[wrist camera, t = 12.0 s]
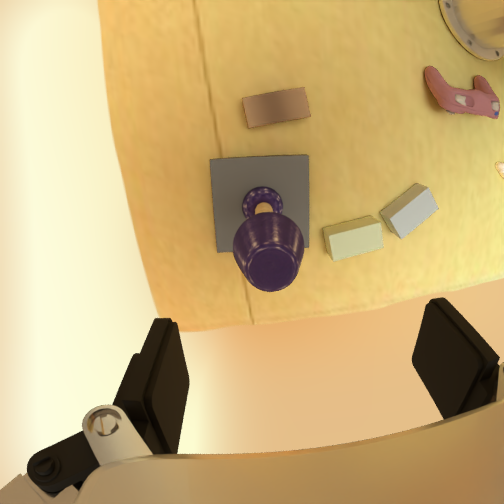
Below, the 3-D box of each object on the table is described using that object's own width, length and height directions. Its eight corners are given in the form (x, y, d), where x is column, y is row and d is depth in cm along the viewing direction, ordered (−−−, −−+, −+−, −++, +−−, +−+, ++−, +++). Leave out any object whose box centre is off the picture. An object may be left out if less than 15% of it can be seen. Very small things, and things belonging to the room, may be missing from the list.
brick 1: (298, 91, 30) (304, 87, 27) (304, 117, 31) (310, 116, 28) (242, 101, 30) (242, 98, 27) (248, 128, 31) (249, 128, 28)
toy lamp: (237, 226, 34) (233, 309, 18) (235, 182, 32) (228, 230, 16) (282, 225, 34) (316, 305, 18) (282, 181, 32) (320, 228, 16)
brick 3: (415, 182, 34) (428, 187, 31) (425, 202, 34) (438, 208, 32) (378, 211, 35) (389, 218, 32) (390, 231, 36) (401, 239, 33)
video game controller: (417, 96, 31) (448, 122, 26) (421, 62, 28) (456, 83, 23) (474, 103, 31) (506, 128, 26) (480, 73, 27) (514, 95, 23)
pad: (306, 154, 32) (308, 155, 31) (307, 244, 36) (309, 247, 35) (210, 159, 32) (209, 159, 31) (218, 249, 36) (217, 252, 35)
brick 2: (370, 215, 35) (380, 222, 32) (373, 238, 36) (383, 247, 33) (322, 227, 35) (328, 235, 32) (326, 251, 36) (333, 261, 34)
